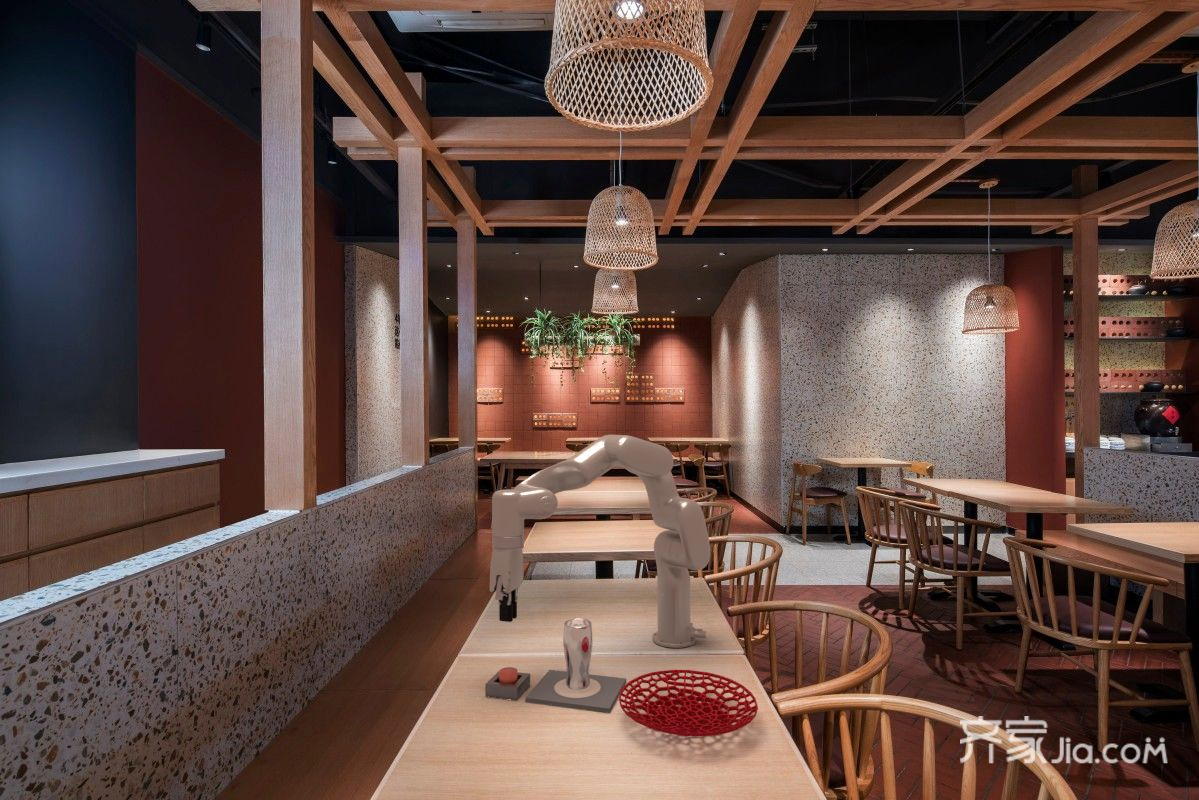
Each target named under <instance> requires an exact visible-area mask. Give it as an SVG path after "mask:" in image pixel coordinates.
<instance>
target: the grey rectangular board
mask: <svg viewBox="0 0 1199 800" xmlns="http://www.w3.org/2000/svg"><path fill="white" fill-rule="evenodd" d="M566 677H567V671H566V670H565V671H563V670H558V669H557V670H555V669H548V671H547V672H546V673H545V674H544V675H543V676H542V677H541V679H540V680H539V681H538V682H537V684H535V686H534V687H533V688H532V689H531V690H530V691H529V693H528V694H527V695H526V696H525V697H524V702H525V703H530V704H536V705H537V704H538V705H545V706H552V707H561V708H567V709H575V710H582V711H583V710H584V711H591V712H598V713H605V714H610V713H611V711H612V710H613V708H614V706H615V704H616V702H617V700H619V695H620V691H621V690H622V688H623V687H624V686H625V685H626V684H627V678H625V677H624V678H623V677H615V676H606V675H599V674H590V673H589V677H590V682H591V687H590V688H589V689H588V690H586V691H582V692H573V691H569V690H567V689H566V687H565V683H566Z"/></svg>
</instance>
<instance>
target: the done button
mask: <svg viewBox="0 0 1199 800" xmlns="http://www.w3.org/2000/svg"><path fill="white" fill-rule="evenodd" d="M498 671H499V683H506V684H515V683H516V682H517V681H518V672H519V670H518V669H517V667H512V666H509V667H508V666H507V667H504V668H500V669H499V670H498Z"/></svg>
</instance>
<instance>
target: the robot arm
mask: <svg viewBox="0 0 1199 800" xmlns="http://www.w3.org/2000/svg"><path fill="white" fill-rule="evenodd" d="M615 467H616V468H624V469H625V470H627V471H628V472H629V473H631V474H634V475H636V476H638V478H640V480H641V481H642V482H643V485H644V487H645V490H646V493H647V497H648V502H649V503H648V504H649V508H650V512H651V517H652V519H653V520H652V521H653V523H654V524H655V525H656V527H658V528H661V529H665V530H663V531H661V532H660V533H658V534H657V536H656V537H655V539H654V542H653V553H654V554H653V555H654V558H655V563H656V572H657V573H656V574H657V577H656V579H657V590H656V591H657V630H656V631H655V632H653V634H652V635H651V636H652V641H653V643H654V644H657V645H659V646H661V647H666V648H670V649H671V648H673V649H681V648H687V647H691V646H693V645H694V644H696V642H697V638H700V639H707V631H706V630H704V629H703V628H695V627H693V626H694V624H693V622H691V620H692V619H691V576H690V572H689V570H691V571H701V570H702V569H704V568H706V567H707V565H708V563H709V562H710V559H711V545H710V539H709V533H708V528H707V524H706V518H705V514H704V511H703V509H702V507H701V506H700V505H699V504H698V503H697V502H696V501H695V500H693V499H690V498H686V497H681V496H680V495H679V492H678V490H677V485H676V482H675V478H674V476H673V474H672V469H673V468H674V457H673V454H672V452H671V451H670V450H669V449H668V448H667V447H665V446H663V445H661V444H658V443H655V442H651V441H647V440H644V439H642V438H638V437H635V436H633V435H632V436H631V435H627V434H624V435H623V434H605V435H602V436H601V437H599V438H597V439H596V440H594V441H593V442H592V443H589V445H587V446H586V447H584V448H583V449H581V450H580V451H578V452H577V453H575V454H574V455H573V456H570V458H568V459H565V460H563V461H560V462H558V463H555V464H553V465H551V466H548V467H546V468H544V469H541V470H539V471H537V472H535V473H533V474H532V475H531V476H529V477H527V478H526V479H524V480H523V481H521V482H520V483H519V484H517V485H516V486H515V487H514V488H512V489H499V490H496V491H494V492H493V494H492V500H491V506H492V507H491V508H492V509H491V513H492V514H491V515H492V516H491V523H492V524H491V529H492V532H491V533H492V534H491V537H492V538H491V539H492V540H491V544H492V545H491V547H492V553H491V559H490V567H489V568H490V569H489V572H490V573H489V592H490V593H495V597H494V599H495V600H496V601H498V605H499V607H498V609H499V613H498V614H499V615H498V616H499V617H498V618H499V621H501V622H507V623H512V622H513V621H514V620H515V619H517V617H518V615H517V614H518V597H519V595H518V594H519V593H518V592H519V589H520V588H521V586H522V584H523V583H524V572H525V571H524V553H523V552H524V551H523V549H524V548H525V520H543V519H544V520H546V519H548V518H550V517H551V516H552V515H554V514H555V513H556V511H557V509H558V502H559V501H558V498H557V496H556V494H559V493H562V492H567V491H573V490H580V489H582V488H586V487H588V486H589V485H591V484H592V483H593V482H595V481H596V480H597V479H598V478H600V477H602V476H603V475H604V474H606V473H607V472H609V471H610V470H611V469H613V468H615Z"/></svg>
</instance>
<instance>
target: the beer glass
mask: <svg viewBox="0 0 1199 800" xmlns="http://www.w3.org/2000/svg"><path fill="white" fill-rule="evenodd" d="M563 625H564V626H563V633H562V634H563V636H562V638H563V641H562V643H563V645H562V646H563V655H564V660H565V667H566V672H567V677H566V683H565V687H566V689H567V690H569V691H573V692H582V691H586V690H588V689H589V688H590V687H591V682H590V677H589V674H590V663H591V658H592V653H593V627H592V621H591V620H590V619H586V618H570V619H568V620H566V621H564V623H563Z"/></svg>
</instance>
